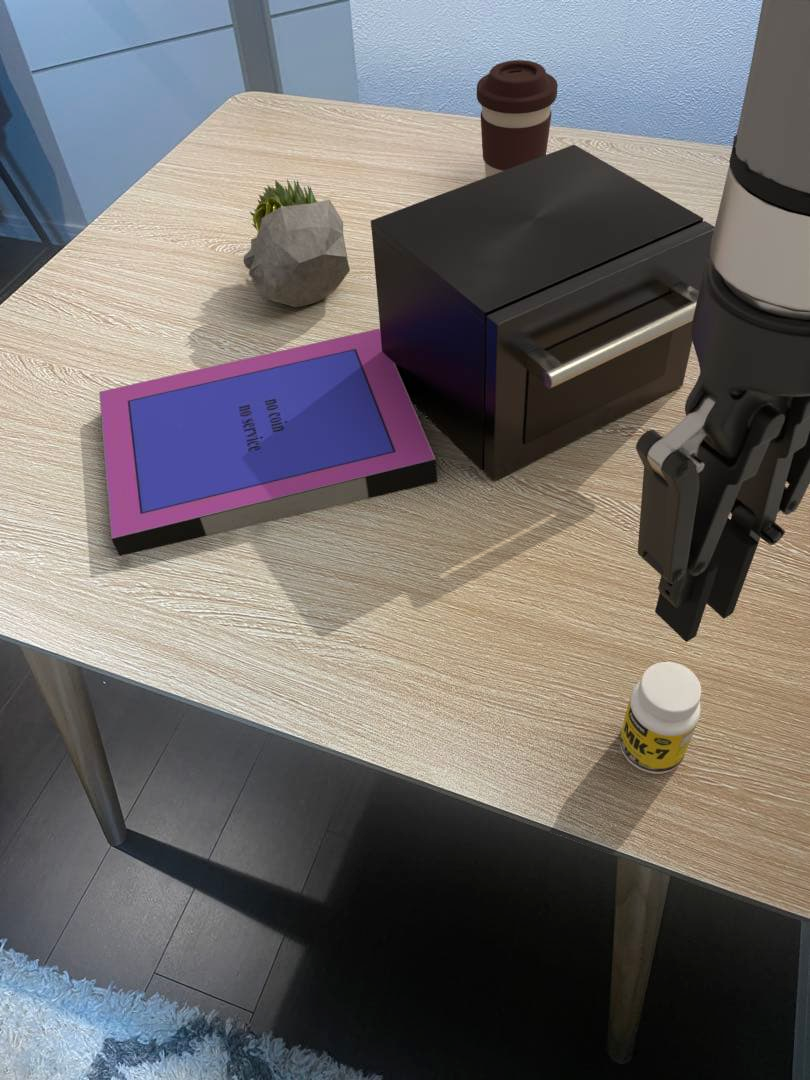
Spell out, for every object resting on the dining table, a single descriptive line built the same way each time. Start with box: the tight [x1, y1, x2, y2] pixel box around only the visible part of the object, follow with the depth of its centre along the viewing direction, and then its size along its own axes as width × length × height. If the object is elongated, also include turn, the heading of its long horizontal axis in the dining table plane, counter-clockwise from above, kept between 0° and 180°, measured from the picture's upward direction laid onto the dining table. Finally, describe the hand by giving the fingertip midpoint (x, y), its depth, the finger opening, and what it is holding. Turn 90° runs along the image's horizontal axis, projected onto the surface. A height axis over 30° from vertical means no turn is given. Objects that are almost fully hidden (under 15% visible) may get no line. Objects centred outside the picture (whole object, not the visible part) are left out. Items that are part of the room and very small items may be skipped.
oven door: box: [483, 220, 715, 482], centre depth 83 cm, size 5×24×18 cm, turn 123°
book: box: [98, 327, 438, 557], centre depth 90 cm, size 21×3×30 cm
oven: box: [370, 144, 704, 472], centre depth 90 cm, size 18×24×18 cm
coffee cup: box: [476, 59, 559, 178], centre depth 117 cm, size 10×10×15 cm
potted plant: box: [243, 178, 351, 309], centre depth 106 cm, size 12×13×15 cm
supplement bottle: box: [619, 661, 702, 775], centre depth 64 cm, size 5×5×8 cm
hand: (693, 612), depth 55 cm, fingers open, 2 cm apart
